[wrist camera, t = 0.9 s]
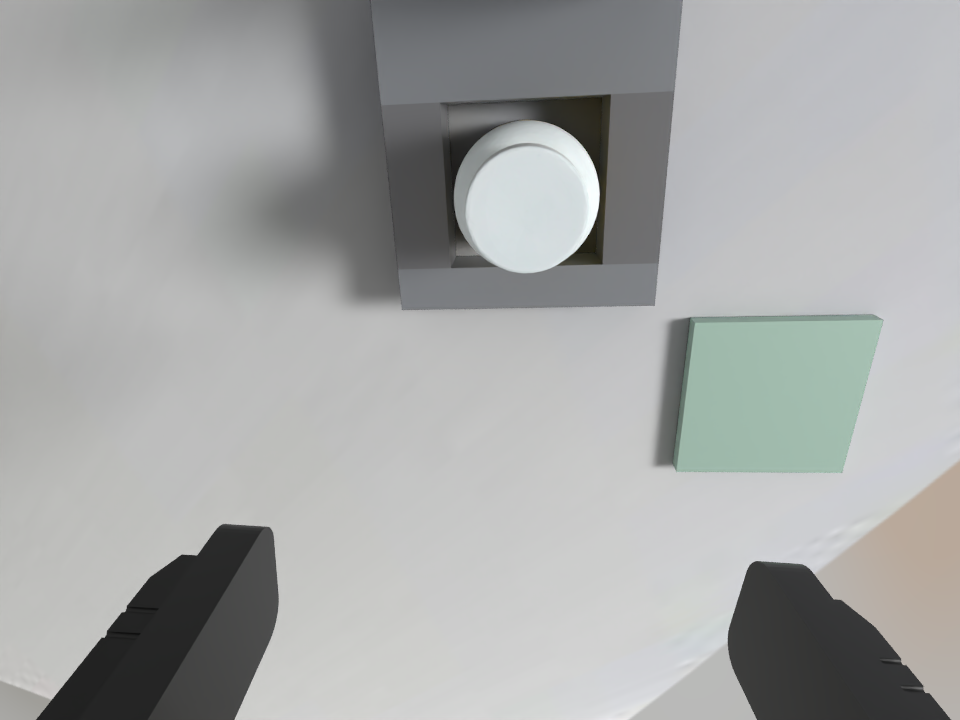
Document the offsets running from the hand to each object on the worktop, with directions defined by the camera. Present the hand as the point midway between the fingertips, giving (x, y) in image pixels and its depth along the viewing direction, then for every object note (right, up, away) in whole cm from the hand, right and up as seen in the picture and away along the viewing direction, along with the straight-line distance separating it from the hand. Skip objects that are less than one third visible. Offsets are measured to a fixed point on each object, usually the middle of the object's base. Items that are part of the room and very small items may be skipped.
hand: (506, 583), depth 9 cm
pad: (+15, +2, +20) cm, 25 cm away
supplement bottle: (+2, +12, +17) cm, 21 cm away
